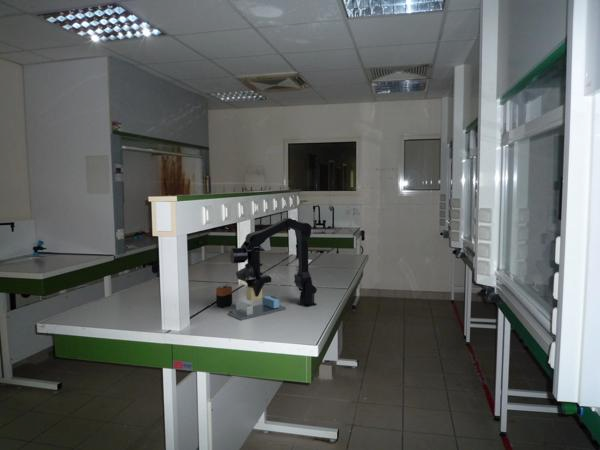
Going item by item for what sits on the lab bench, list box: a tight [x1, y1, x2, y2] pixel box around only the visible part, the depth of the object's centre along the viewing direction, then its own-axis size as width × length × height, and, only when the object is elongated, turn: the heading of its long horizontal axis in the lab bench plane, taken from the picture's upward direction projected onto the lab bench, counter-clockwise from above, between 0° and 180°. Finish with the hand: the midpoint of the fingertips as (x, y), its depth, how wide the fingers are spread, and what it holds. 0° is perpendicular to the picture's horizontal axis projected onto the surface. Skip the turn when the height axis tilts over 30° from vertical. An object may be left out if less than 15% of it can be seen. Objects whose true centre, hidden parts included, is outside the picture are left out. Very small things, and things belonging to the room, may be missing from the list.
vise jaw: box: [261, 295, 280, 308], centre depth 194 cm, size 4×9×4 cm, turn 40°
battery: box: [215, 284, 233, 309], centre depth 200 cm, size 4×7×10 cm, turn 145°
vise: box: [227, 301, 287, 321], centre depth 189 cm, size 24×11×5 cm, turn 130°
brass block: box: [246, 285, 263, 302], centre depth 188 cm, size 6×4×6 cm, turn 130°
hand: (254, 295), depth 188 cm, fingers closed on brass block, 3 cm apart
